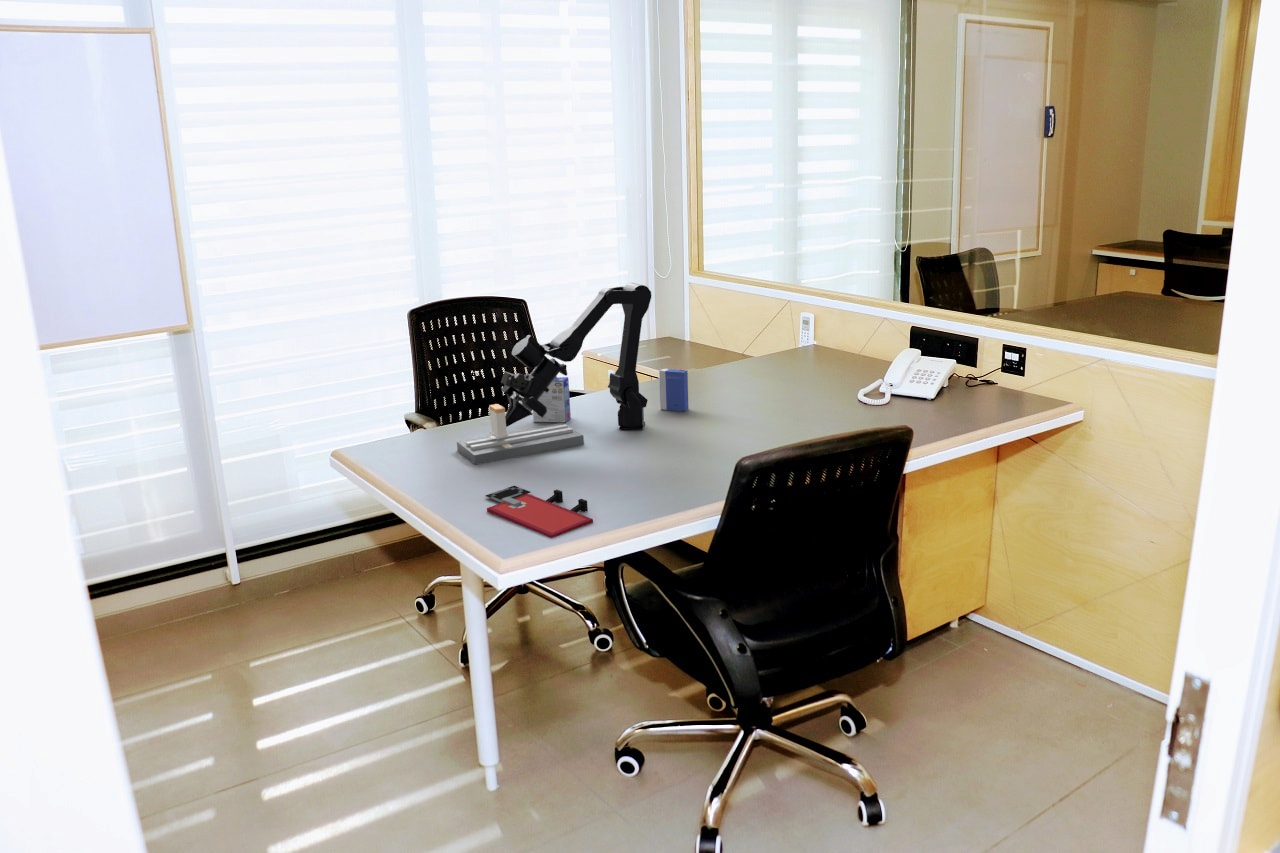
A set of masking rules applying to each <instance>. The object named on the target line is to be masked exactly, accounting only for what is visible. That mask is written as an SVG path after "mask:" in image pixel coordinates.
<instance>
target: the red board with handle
mask: <svg viewBox="0 0 1280 853" xmlns="http://www.w3.org/2000/svg"><path fill="white" fill-rule="evenodd" d="M530 493H532V491H530V490H527V489H524V488H522V487H520V486H516V485H512V486H509V487H505V488H503V489H500V490H497V491H495V492H494V491H493V492H491V493H488V494H484V496H485V497H486V498H489V499H491V500H494V501H496V502H499V503H498V504H495V505H492V506H489V507H486V512H487V513H489V514H490V515H494V516H496V517H498V518H501V519H503V520H505V521H508V522H510V523H514V524H516V525H519V526H521V527H524V528H526V529H528V530H531V531H533V532H535V533H536V532H537V533H538V534H541V535H544V536H546V537H547V538H551V539H552V538H555V537H558V536H561V535H563V534H564V535H565V534H567V533H568V532H571V531H574V530H577V529H579V528H583V527H585V526H588V525H590V524H592V523H594V519H593V518H591V517H589V516H586V515H584V514H581V513H579V512H580V510H581V512H583V513H585V511H586V512H588V509H589V508H588V500H586V499H583V498H579V499H578V500H577V502H578V504H577V505H575V506H574V507H572V508H571V509H568V508H566V507H564V506H563V507H562V506H561V505H558V504H555V502H556V503H559V504H561V503H564V499H563V491H562V490H559V489H554V490H553V494H552V496H550V497H548V499H546V500H545V499H543V498H540V497H537V496H535V495H533V494H530Z"/></svg>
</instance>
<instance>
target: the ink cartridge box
mask: <svg viewBox="0 0 1280 853" xmlns="http://www.w3.org/2000/svg"><path fill="white" fill-rule="evenodd" d="M548 389H549V391H548V392H544V393H543V394H542V395H541V397H540V398H539V399H538V401H539V402H541V403H542V404H543V405H544V406H546V407H547V413H546V414H545V415H544V417H543V418H542V417H540V416H539V415H537V413H536V412H535V411H533V410H532V413H533V415H532V416H533V418H532V420H533V422H534V423H566V422H569V420H570V419H572V418H571V401H570V400H571V399H570V382H569V377H568V376H562V377H561V376H558V375H557V376H556V377H555V379H554V380H553V381H552V382H551V384H550V385H549V386H548Z"/></svg>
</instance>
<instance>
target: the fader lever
mask: <svg viewBox="0 0 1280 853" xmlns="http://www.w3.org/2000/svg"><path fill="white" fill-rule="evenodd" d="M488 407H489V408H488V409H489V416H490V417H489V418H490V428H491V429H490V431H489V434H491V435H493V436H494V437H496V438H497V441H498V440H502V438H504V437H508V434H507V433H508V432H507V427H506V419H505V416H506V408H505V407H504V406H503V405H500V404H499V403H494V404H489V406H488Z"/></svg>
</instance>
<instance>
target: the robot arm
mask: <svg viewBox="0 0 1280 853" xmlns="http://www.w3.org/2000/svg"><path fill="white" fill-rule="evenodd" d="M651 300H652V291H651V290H650V289H649V287H648V286H647V285H643V284H639V283H635V282H629V283H626V285H624V286H615V287H610V288H607V287H605V288H602V289H600V290H599V292H598V293H597V295H596V296H595V298H594V299H593V300H592V301H591V302H590V303H589V305H588V306H587V307H586V309H585V310H583V312H582V313H581V314H580V315H579V317H578V318H577V319H576V320H575V321H574V322H573V323H572V325H571V326H569V327H568V328H566V329H564V330H563V331H561V332H559V333H558V334H557V335H556V336H555V337H554V338H552V340H551V341H550V342H547V343H543V344H540V343H539V342H538V341H537V340H536V338H535V337H534V336H533V335H530V334H528V335H526V336H525V337H524V338H523V339H521V340H519V341H518V342H516V344H515V345H514V346H513V348H512V351H511V355H512V356H513V357H514V358H515V359H517V360H518V361H519V362H520V363H521V364H523V365H524V366H525V367H526V368H528V369H532V368H534V369H533V370H532V371H531V372H530V374H529V373H525V374H521V373H518V372H516V373H515V374H514V373H511V372H509V371H504V372H503V375H502V377H501V381H500V383H501V384H503V386H502V388H501V389H500V390H501V391H502V392H503V394H505V395H506V396H507V400H508V405H509V406H508V408H507V411H506V412H505V419H506V428H507V427H509V426H511V425H513V424H515V423H517V422H519V421H521V420H523V419H525V418H527V417H530V416H533V411H535V412H536V413H537V415H539V416H540V417H542V418H543V417H544V415H545V414H546V413H547V407H546V406H544V405H543V404H542V403H541V402H539V401H538V399H539V398H540V397H541V395H542V394H543V393H544V392H548V391H549V389H548V386H549V385H550V384H551V382H552V381H553V380H554V379H555V377H556V376H557V377H558V375H559V374H561V375H562V376H563V375H564V377H568V371H567V364H564V363H560V362H559V361H557V360H560V361H562V362H565V363H568V362H572V361H574V359H576V357H577V356H578V354H579V353H580V351H581V349H582V348H583V344H584V340H585V338H586V337H587V335H588V334H589V333H590V332H591V331H592V330H593V328H595V326H596V325H597V323H599V321H600V320H601V319H602V318H603V317H604V315H606V313H607V312H608V311H609V309H610V308H611V307H612V306H613V305H621V307H622V310H623V315H624V319H623V321H624V322H623V329H622V336H621V337H622V338H621V344H620V352H619V360H618V368H617V369H616V371H615V373H613V372H611V373H609V381H608V386H607V388H609V393H610V395H611V397H613V398H614V399H615V401H616V403H617V404H619V409H618V411H617V424H618V426H619V427H618V429H619V430H621V431H622V430H623V431H624V430H625V431H626V430H627V431H629V430H630V431H631V430H633V431H634V430H635V431H637V430H638V431H640V430H641V431H642V430H644V427H645V424H646V421H645V414H644V413H645V412H644V411H645V410H644V408H646V407H647V404H648V398H646V397H645V396H644V395H643V394H641V393H640V386H639V385H640V382H639V378H638V375H637V364H638V355H639V348H640V338H641V331H642V326H643V325H642V322H643V318H644V316H645V315H646V313H647V312H648V309H649V308H650V304H651ZM546 355H547V356H548V357H547V356H546ZM549 357H551V358H549ZM556 359H557V360H556Z"/></svg>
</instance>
